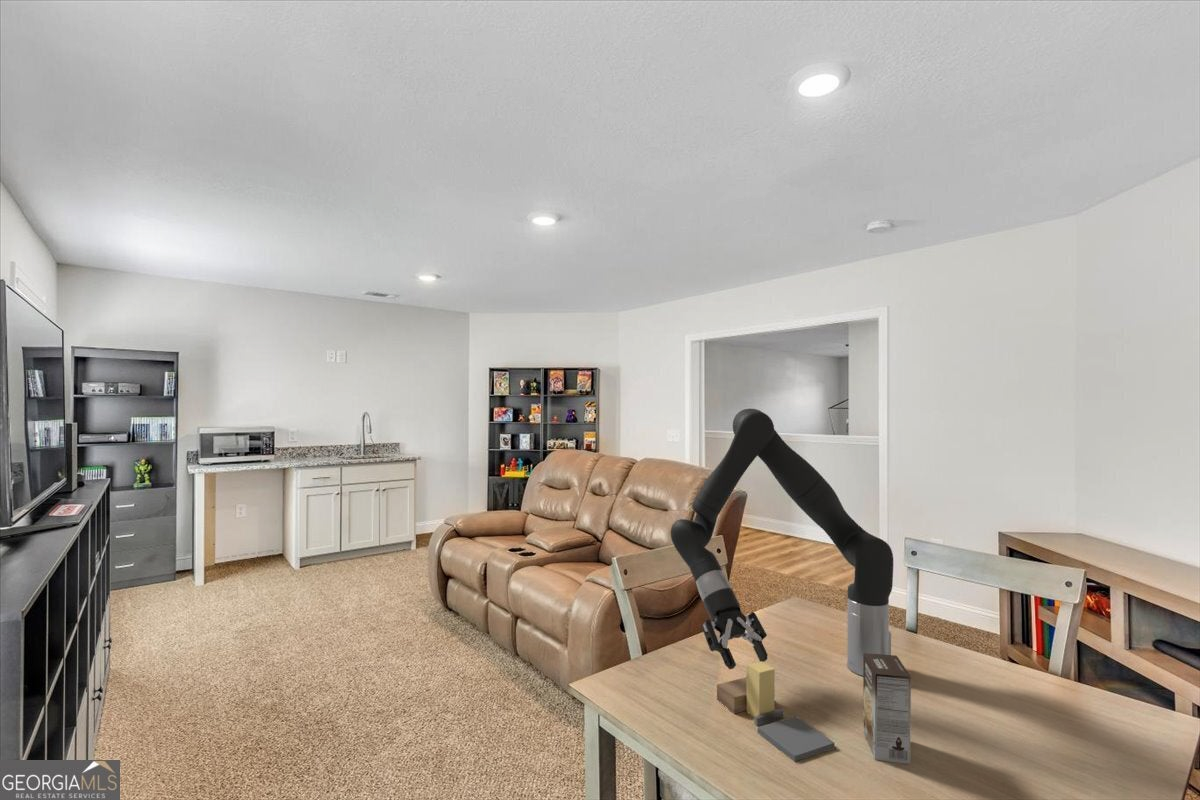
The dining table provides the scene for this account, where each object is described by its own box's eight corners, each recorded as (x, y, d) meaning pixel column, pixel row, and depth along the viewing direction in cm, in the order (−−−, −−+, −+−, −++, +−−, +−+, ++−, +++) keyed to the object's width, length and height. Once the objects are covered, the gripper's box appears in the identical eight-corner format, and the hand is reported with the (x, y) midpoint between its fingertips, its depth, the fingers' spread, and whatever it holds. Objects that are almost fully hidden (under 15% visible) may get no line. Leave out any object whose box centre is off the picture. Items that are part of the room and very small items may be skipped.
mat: (795, 720, 116) (795, 716, 116) (834, 747, 107) (834, 742, 107) (757, 732, 112) (757, 727, 112) (794, 761, 103) (794, 756, 103)
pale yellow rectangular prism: (761, 707, 121) (761, 661, 121) (774, 717, 117) (774, 669, 117) (746, 711, 119) (746, 664, 119) (759, 721, 116) (759, 672, 116)
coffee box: (861, 732, 112) (861, 651, 112) (896, 736, 111) (896, 654, 111) (874, 760, 103) (874, 672, 103) (912, 765, 102) (912, 676, 102)
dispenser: (752, 691, 128) (752, 675, 128) (789, 716, 118) (789, 699, 118) (716, 700, 124) (716, 684, 124) (751, 727, 113) (751, 710, 113)
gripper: (698, 590, 127) (730, 663, 116) (748, 583, 133) (783, 651, 122) (685, 606, 132) (714, 677, 121) (734, 598, 138) (766, 665, 127)
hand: (749, 664), depth 122 cm, fingers open, 8 cm apart
